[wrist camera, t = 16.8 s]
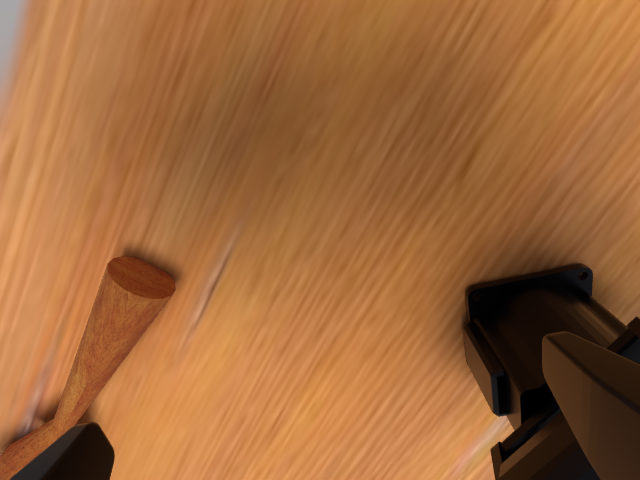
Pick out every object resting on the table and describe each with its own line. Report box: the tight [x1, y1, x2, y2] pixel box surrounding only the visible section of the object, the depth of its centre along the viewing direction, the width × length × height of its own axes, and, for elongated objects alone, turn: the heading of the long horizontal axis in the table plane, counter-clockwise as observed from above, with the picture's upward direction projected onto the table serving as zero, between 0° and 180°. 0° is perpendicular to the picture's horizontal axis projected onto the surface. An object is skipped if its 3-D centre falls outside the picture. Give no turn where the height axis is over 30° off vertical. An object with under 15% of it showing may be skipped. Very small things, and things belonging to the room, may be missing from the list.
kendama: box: [0, 256, 176, 480], centre depth 23 cm, size 6×6×20 cm
